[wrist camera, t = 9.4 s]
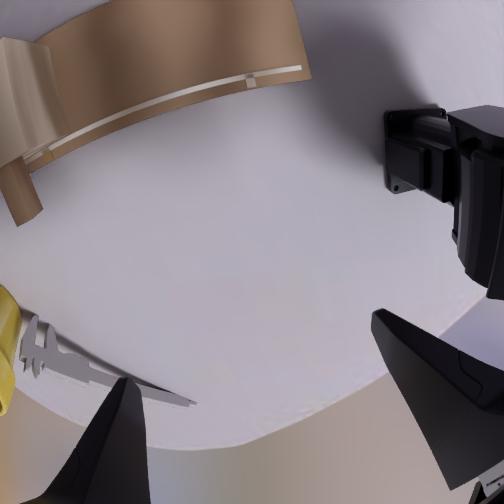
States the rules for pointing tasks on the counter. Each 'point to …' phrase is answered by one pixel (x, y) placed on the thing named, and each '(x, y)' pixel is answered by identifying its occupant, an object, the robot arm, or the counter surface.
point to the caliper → (81, 368)
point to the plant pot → (8, 345)
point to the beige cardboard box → (26, 120)
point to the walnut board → (165, 60)
